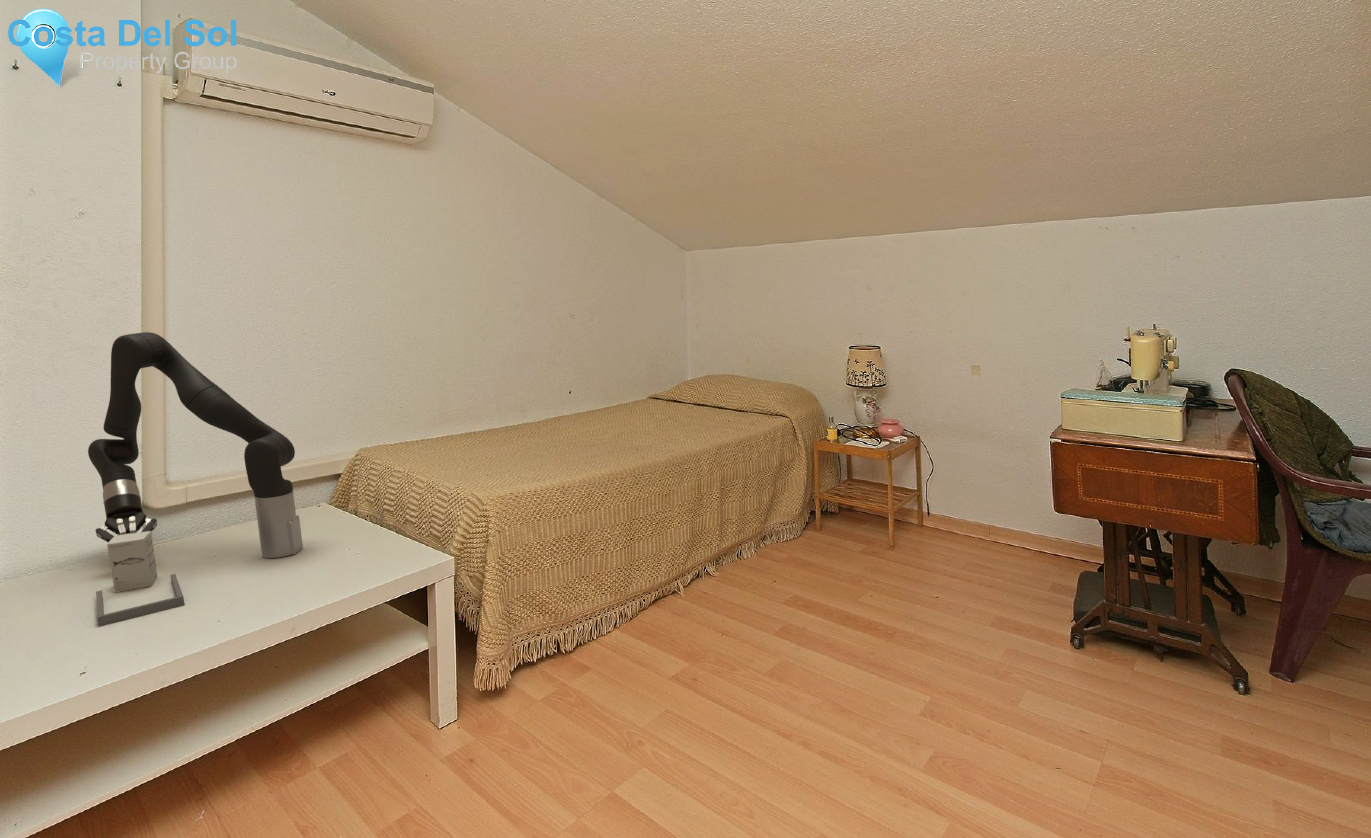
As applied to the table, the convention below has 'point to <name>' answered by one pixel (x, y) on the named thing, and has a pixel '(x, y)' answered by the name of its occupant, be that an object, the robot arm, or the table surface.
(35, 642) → the table surface
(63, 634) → the table surface
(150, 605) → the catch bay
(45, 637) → the table surface
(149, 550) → the supplement box
